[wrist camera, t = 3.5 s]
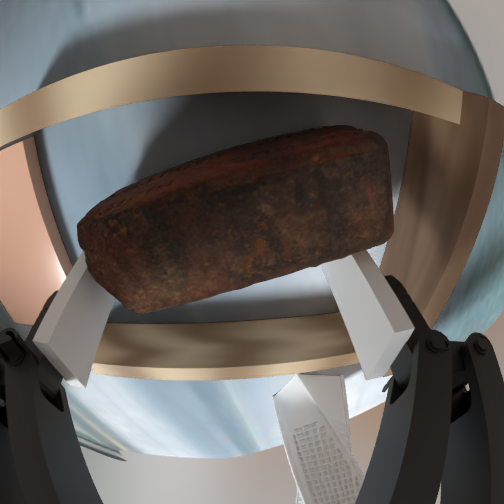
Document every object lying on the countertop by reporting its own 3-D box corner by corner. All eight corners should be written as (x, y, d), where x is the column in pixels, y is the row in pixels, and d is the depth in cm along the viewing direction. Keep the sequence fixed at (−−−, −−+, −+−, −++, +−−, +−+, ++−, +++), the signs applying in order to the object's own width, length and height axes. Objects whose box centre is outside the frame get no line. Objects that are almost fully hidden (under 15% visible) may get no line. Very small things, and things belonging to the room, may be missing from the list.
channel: (107, 335, 18) (91, 392, 13) (29, 104, 8) (-40, 129, 4) (376, 319, 19) (401, 372, 15) (435, 89, 9) (507, 108, 5)
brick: (331, 120, 11) (392, 131, 7) (345, 199, 13) (398, 245, 8) (105, 192, 11) (56, 238, 7) (140, 262, 13) (115, 329, 9)
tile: (19, 314, 16) (14, 322, 15) (-42, 173, 9) (-51, 179, 8) (98, 320, 17) (94, 331, 16) (33, 135, 9) (22, 140, 8)
